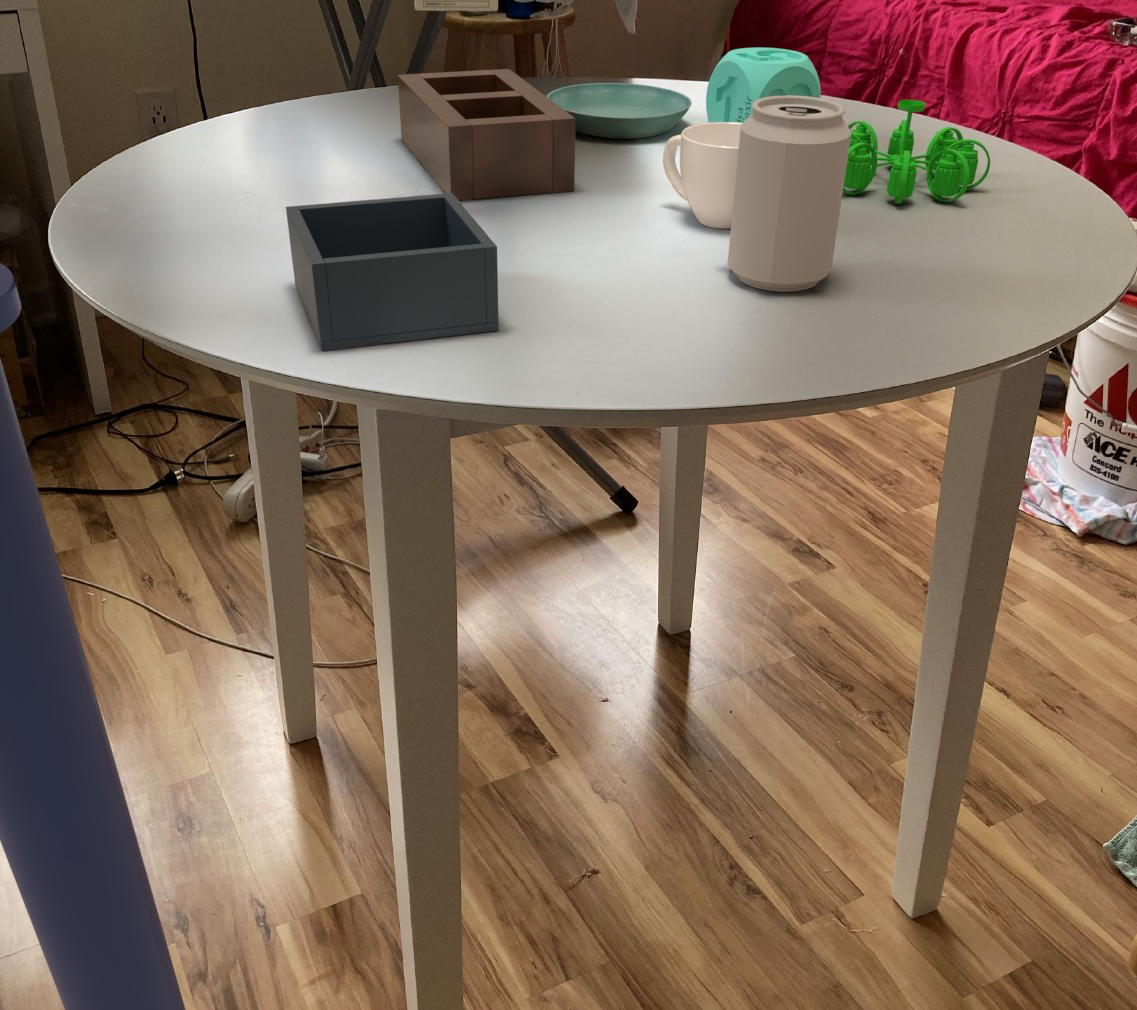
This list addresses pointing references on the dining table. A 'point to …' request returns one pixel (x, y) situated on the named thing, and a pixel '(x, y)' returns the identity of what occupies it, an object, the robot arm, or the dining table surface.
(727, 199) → the cup
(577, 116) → the saucer
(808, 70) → the decorative dice
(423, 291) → the open box
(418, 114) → the box
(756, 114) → the can
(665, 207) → the dining table surface
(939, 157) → the chandelier
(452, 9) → the cosmetic box
